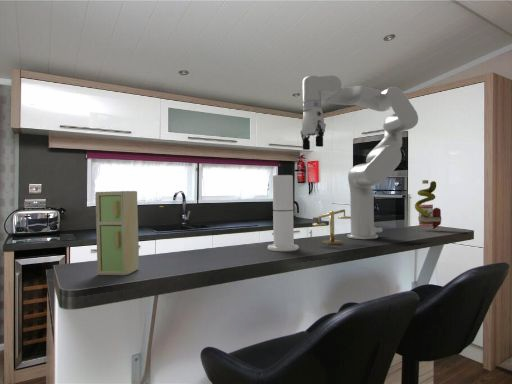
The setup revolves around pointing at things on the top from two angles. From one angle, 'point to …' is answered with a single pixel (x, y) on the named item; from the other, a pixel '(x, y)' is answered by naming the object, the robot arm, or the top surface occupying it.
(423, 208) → the snake in a can
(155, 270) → the top surface
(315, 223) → the balance
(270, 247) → the dish
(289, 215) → the cylindrical container
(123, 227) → the toy refrigerator
